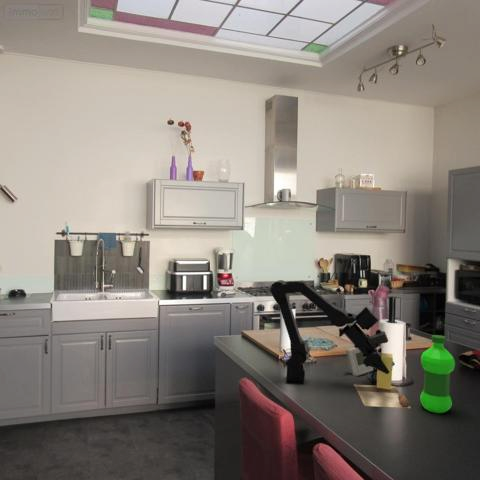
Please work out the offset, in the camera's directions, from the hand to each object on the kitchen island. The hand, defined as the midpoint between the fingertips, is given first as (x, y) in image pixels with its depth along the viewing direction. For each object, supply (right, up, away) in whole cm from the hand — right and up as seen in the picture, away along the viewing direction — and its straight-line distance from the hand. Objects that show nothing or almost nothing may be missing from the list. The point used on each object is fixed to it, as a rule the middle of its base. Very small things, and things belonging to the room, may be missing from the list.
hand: (388, 371), depth 180 cm
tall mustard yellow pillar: (-1, -6, +1) cm, 6 cm away
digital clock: (-4, -7, +24) cm, 25 cm away
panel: (-4, -8, -5) cm, 10 cm away
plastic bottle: (+10, -9, -16) cm, 22 cm away
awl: (+1, -8, -10) cm, 13 cm away
